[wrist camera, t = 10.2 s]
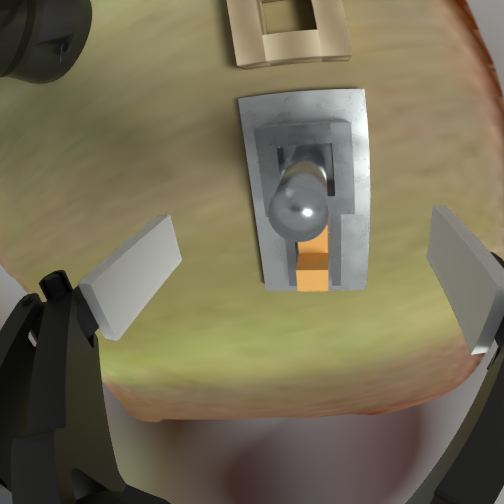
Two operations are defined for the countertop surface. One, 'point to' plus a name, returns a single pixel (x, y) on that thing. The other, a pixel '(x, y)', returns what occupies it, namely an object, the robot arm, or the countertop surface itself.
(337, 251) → the socket station
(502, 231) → the countertop surface
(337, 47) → the light wood square frame
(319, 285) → the orange block
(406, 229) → the countertop surface
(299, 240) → the peg
